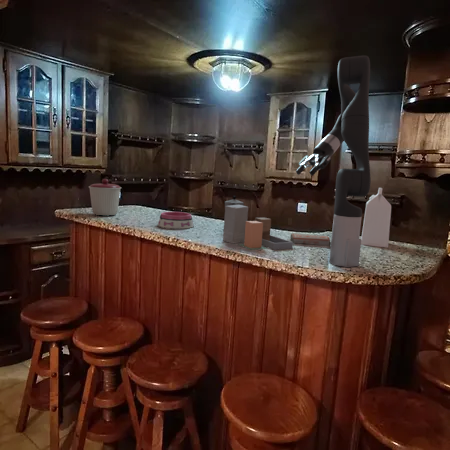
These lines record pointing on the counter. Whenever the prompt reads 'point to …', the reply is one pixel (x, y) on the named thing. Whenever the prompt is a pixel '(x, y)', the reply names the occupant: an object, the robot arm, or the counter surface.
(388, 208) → the milk
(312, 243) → the packaged product
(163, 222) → the dog bowl
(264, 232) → the walnut block
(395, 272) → the counter surface
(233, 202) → the coffeepot
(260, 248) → the green mat
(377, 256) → the counter surface
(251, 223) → the terracotta carton
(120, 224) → the counter surface
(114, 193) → the canister
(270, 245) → the grey bin
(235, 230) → the skincare box
